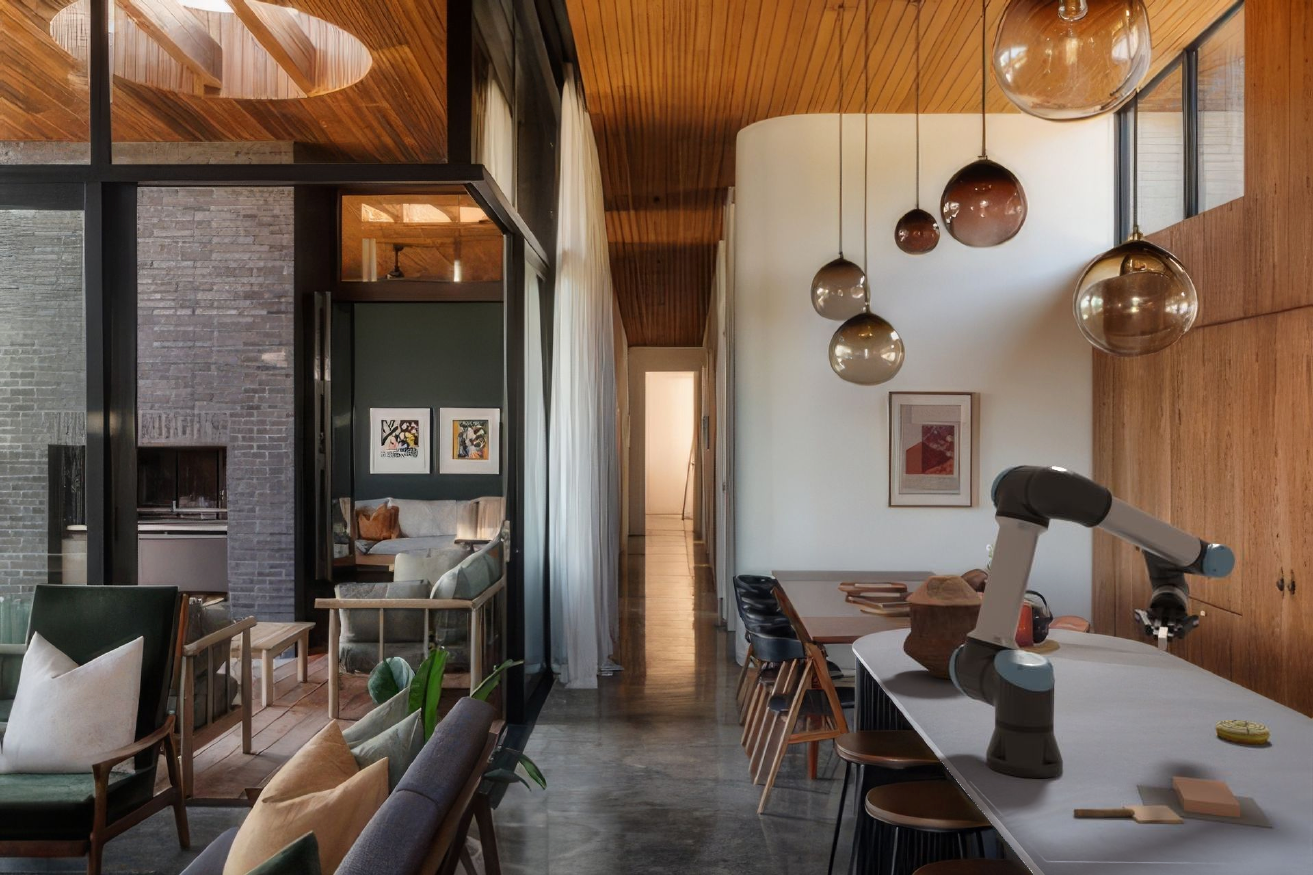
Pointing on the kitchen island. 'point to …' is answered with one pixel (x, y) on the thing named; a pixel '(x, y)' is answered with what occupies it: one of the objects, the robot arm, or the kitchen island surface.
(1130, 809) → the wooden turner
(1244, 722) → the decorated donut
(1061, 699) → the kitchen island surface
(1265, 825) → the mat
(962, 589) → the pottery vessel
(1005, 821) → the kitchen island surface
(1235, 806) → the tile
